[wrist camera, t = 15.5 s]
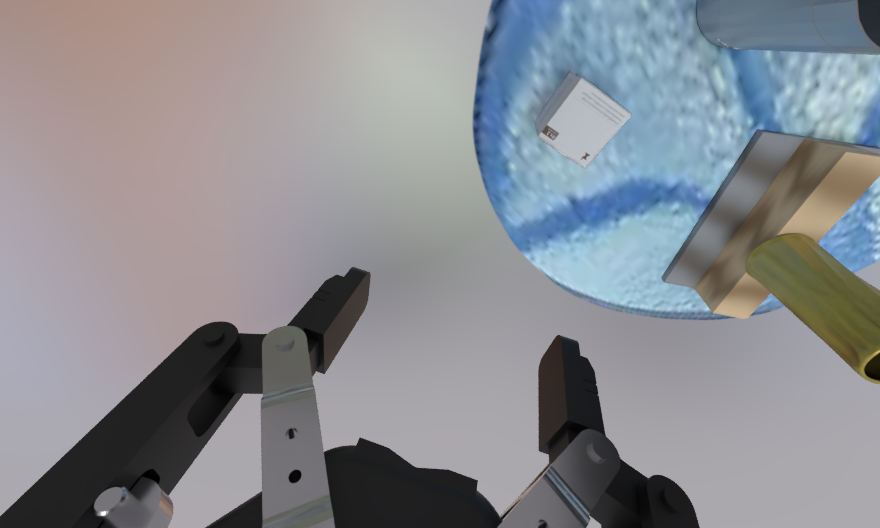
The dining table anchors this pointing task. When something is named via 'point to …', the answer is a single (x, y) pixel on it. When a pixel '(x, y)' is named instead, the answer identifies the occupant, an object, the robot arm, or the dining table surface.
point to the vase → (823, 297)
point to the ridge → (769, 212)
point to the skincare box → (580, 120)
